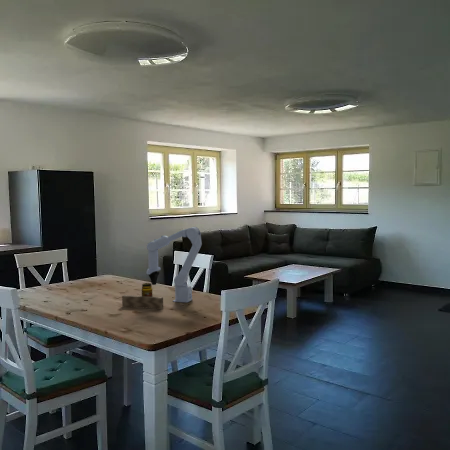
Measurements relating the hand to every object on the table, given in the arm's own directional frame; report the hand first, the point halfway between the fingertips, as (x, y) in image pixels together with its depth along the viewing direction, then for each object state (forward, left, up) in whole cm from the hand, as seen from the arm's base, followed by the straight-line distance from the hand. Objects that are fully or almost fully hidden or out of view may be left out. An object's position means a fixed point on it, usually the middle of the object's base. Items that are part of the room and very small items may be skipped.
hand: (154, 284), depth 261 cm
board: (-1, +17, -9) cm, 19 cm away
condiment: (0, +10, -10) cm, 14 cm away
